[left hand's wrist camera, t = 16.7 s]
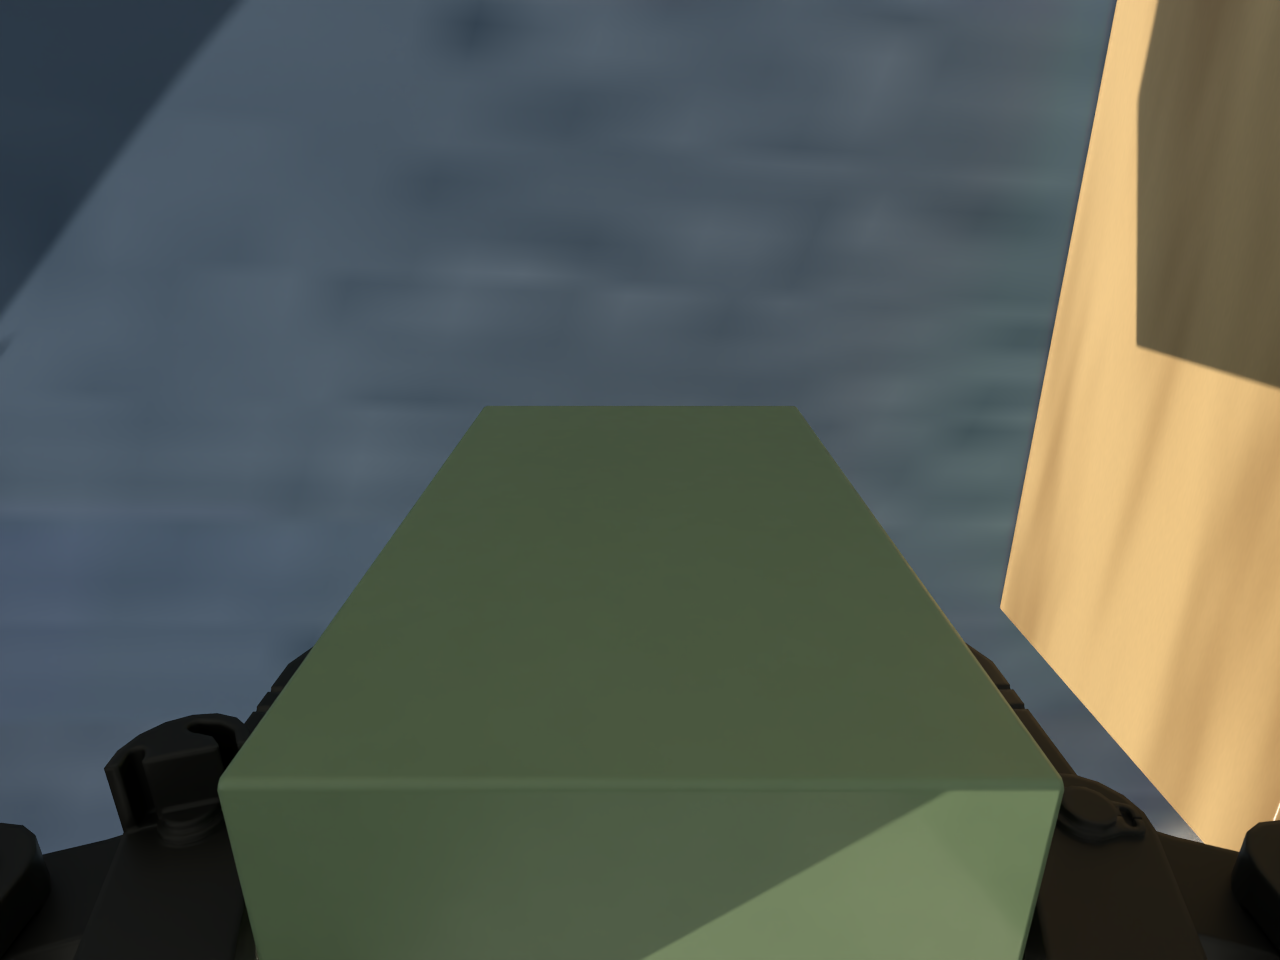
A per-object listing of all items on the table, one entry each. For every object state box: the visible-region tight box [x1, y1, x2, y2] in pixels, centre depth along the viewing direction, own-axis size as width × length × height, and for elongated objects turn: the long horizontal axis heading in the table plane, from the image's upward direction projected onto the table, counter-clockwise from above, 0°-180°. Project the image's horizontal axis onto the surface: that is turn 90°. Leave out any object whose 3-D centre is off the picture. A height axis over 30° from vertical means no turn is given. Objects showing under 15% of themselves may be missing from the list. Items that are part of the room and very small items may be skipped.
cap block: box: [217, 406, 1064, 960], centre depth 11 cm, size 6×6×10 cm
